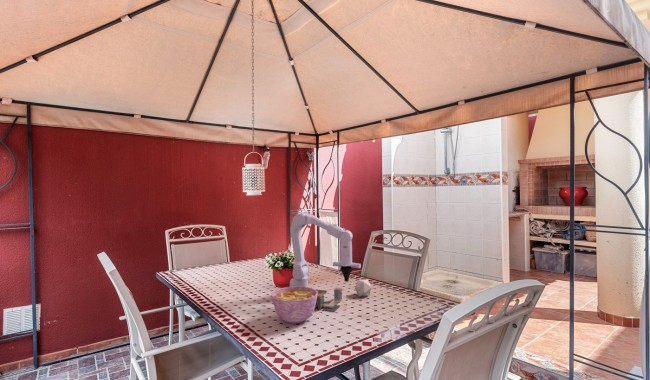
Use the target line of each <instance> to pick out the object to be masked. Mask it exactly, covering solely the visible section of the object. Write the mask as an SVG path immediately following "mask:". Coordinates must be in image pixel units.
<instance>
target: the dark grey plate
mask: <svg viewBox="0 0 650 380" xmlns="http://www.w3.org/2000/svg"><path fill="white" fill-rule="evenodd" d="M340 307H341V305H339V304H336V305H335V306H334V307H333V308H326V307H323V309H322V311H324V312H332V313H335V312H336V311H337V310H338V309H339V308H340Z"/></svg>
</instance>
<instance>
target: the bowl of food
mask: <svg viewBox="0 0 650 380" xmlns="http://www.w3.org/2000/svg"><path fill="white" fill-rule="evenodd" d="M317 290H318V289H317ZM317 290H316V289H315V288H313V287H309V286H308V287H301V286H295V287H290V286H287V287H282V288H277V289H276V290H274V291H273V292H272V293H271V298H272V302H273V307H274V310H275V313H276V315H277V317H278V318H279V319H281V320H283V321H284V322H286V323H288V324H294V325H295V324H300V323H303V322H304V321H306V320H308V319H309V318H311V317H312V316H313V313H314V311H315V305H316V300H317V295H318V292H317Z"/></svg>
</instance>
